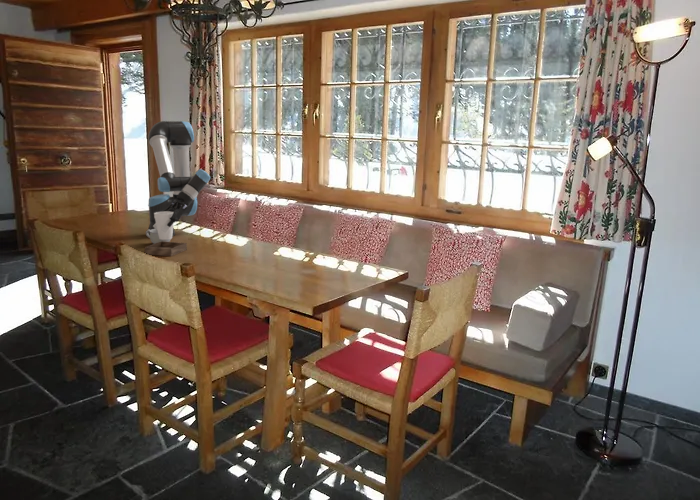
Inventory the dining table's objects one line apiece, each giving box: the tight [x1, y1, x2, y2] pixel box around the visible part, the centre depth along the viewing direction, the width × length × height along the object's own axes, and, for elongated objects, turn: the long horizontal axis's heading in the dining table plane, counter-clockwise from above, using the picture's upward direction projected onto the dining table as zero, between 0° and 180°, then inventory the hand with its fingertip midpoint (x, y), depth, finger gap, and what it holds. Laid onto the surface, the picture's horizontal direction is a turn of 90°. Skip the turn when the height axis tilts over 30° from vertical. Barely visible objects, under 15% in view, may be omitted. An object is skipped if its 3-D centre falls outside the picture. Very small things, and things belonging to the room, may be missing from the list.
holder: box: [144, 241, 188, 257], centre depth 274 cm, size 15×15×4 cm
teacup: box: [145, 229, 172, 244], centre depth 290 cm, size 14×11×8 cm
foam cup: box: [154, 211, 174, 240], centre depth 270 cm, size 10×9×13 cm
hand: (159, 229), depth 269 cm, fingers closed on foam cup, 9 cm apart
